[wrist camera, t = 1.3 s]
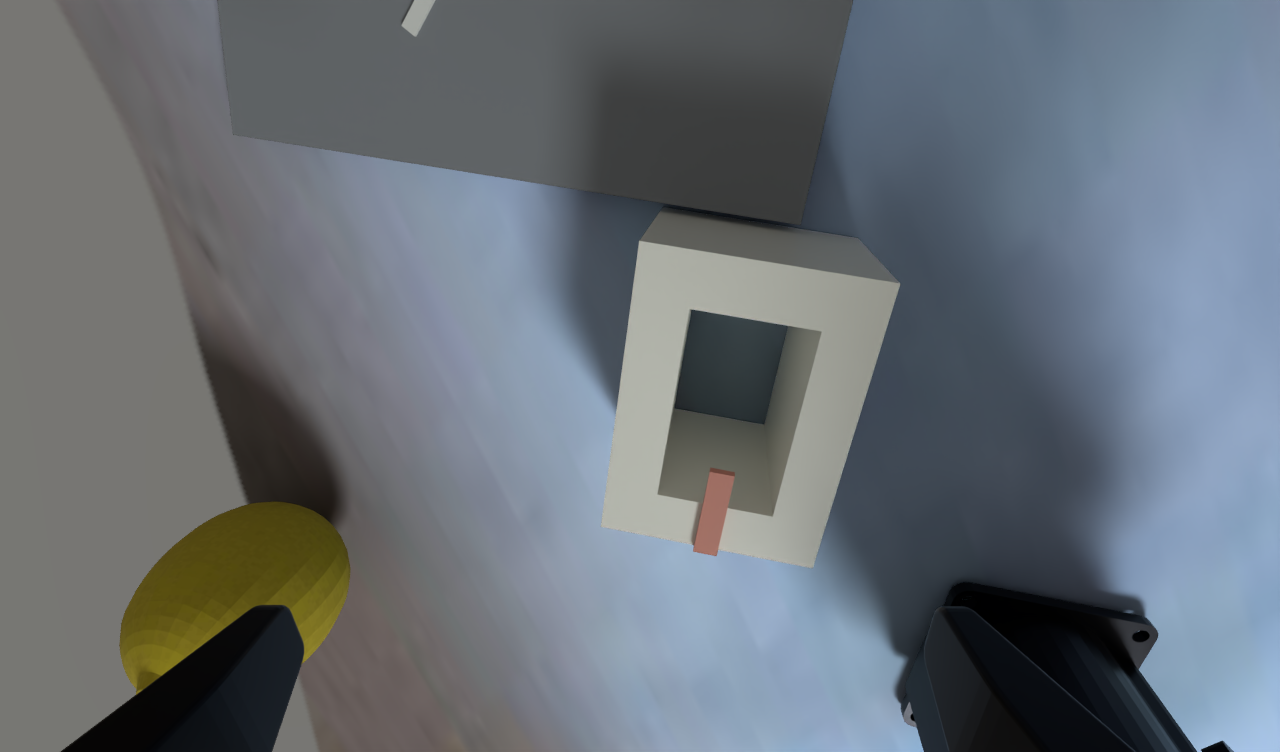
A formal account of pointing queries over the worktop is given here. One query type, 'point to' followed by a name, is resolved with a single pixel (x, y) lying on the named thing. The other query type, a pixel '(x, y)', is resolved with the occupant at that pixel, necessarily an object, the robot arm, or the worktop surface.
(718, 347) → the worktop surface
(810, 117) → the grey peg base plate
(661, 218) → the square tube sleeve
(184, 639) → the lemon
